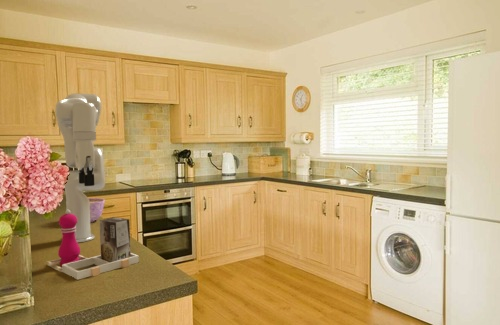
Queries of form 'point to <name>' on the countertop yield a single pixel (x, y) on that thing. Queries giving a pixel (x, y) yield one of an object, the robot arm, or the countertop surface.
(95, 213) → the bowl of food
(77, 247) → the pepper mill
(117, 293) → the countertop surface
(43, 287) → the countertop surface
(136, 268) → the countertop surface
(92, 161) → the robot arm
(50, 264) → the tray frame
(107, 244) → the coffee box
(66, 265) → the frame
